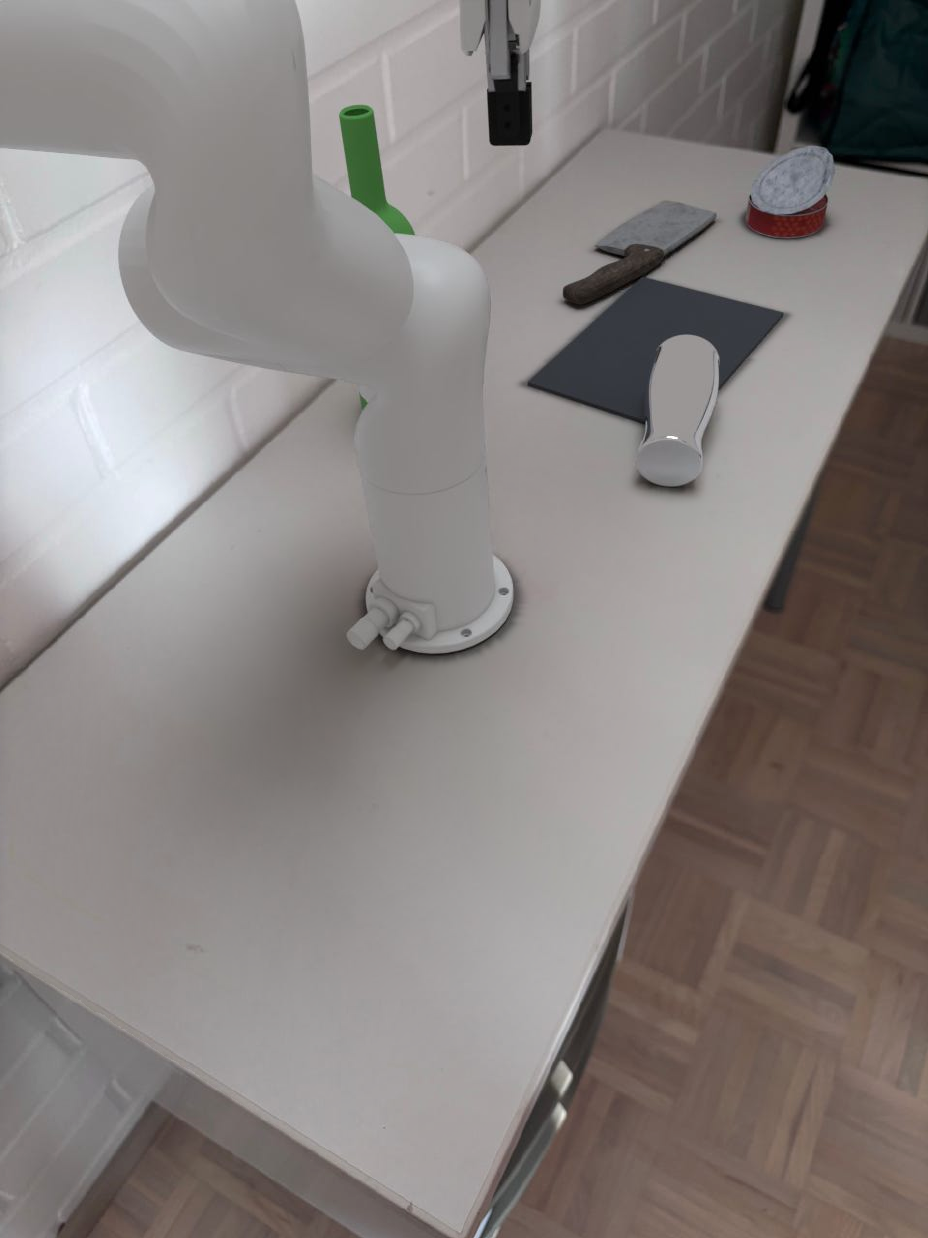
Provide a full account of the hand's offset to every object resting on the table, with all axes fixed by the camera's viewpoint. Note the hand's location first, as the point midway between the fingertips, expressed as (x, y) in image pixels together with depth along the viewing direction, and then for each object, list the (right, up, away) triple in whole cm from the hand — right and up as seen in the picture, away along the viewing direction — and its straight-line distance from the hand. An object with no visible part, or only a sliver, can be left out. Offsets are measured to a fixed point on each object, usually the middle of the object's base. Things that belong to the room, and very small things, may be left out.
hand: (511, 140), depth 74 cm
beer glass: (+15, -23, +13) cm, 30 cm away
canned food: (+38, +14, +50) cm, 64 cm away
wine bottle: (-11, -16, +26) cm, 33 cm away
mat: (+18, -7, +31) cm, 37 cm away
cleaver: (+18, +9, +46) cm, 50 cm away
